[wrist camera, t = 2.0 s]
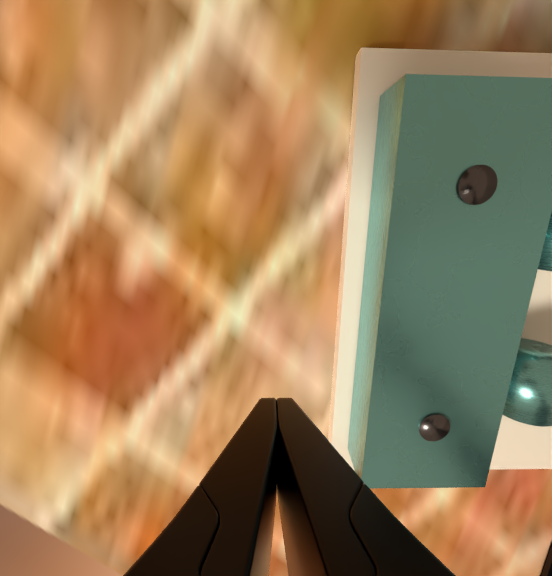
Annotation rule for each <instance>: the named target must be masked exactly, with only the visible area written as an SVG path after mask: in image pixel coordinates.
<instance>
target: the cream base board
mask: <svg viewBox="0 0 552 576" xmlns="http://www.w3.org/2000/svg"><path fill="white" fill-rule="evenodd" d="M405 74H428V75H464V76H500V77H536V78H552V53H528V52H494V51H461V50H428V49H394V48H361V49H360V50H359V52H358V53H357V55H356V59H355V73H354V87H353V101H352V115H351V128H350V142H349V156H348V170H347V184H346V198H345V212H344V226H343V240H342V254H341V268H340V282H339V296H338V310H337V324H336V337H335V351H334V365H333V379H332V393H331V407H330V421H329V435H328V441H329V442H330V443H331V444H332V445H333V447H334V448H335V449H336V450H337V451H338V452H339V454H340V455H341V456H342V457H343V458H344V459H345V461H346V462H347V463H348V464H349V465H350V466H351V468H352V469H353V470H354V467H353V464H352V461H351V457H350V454H349V451H348V437H349V426H350V415H351V404H352V394H353V383H354V372H355V361H356V350H357V339H358V328H359V318H360V307H361V296H362V285H363V274H364V263H365V252H366V242H367V231H368V220H369V209H370V198H371V187H372V176H373V166H374V155H375V144H376V133H377V122H378V111H379V100H380V95H382V94H383V93H384V92H385V91H386V90H387V89H389V88H390V87H391V86H392V85H393V84H395V83H396V82H397V81H398V80H399V79H400V78H402V77H403V76H404V75H405ZM521 338H525V339H531V340H535V341H540V342H543V343H547V344H550V345H552V271H545V270H539V269H538V270H537V274H536V278H535V283H534V287H533V291H532V295H531V299H530V303H529V307H528V311H527V316H526V320H525V324H524V328H523V332H522V336H521ZM489 469H552V426H548V427H540V426H533V425H528V424H524V423H521V422H518V421H515V420H513V419H510V418H508V417H506V416H504V415H502V419H501V423H500V427H499V431H498V435H497V440H496V444H495V448H494V452H493V456H492V460H491V464H490V468H489ZM354 471H355V470H354Z"/></svg>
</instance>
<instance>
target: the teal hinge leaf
mask: <svg viewBox="0 0 552 576" xmlns="http://www.w3.org/2000/svg"><path fill="white" fill-rule="evenodd" d="M538 269H539V270H545V271H552V78H536V77H500V76H464V75H428V74H405V75H404V76H403V77H402V78H400V79H399V80H398V81H397V82H396V83H395V84H393V85H392V86H391V87H390V88H389V89H387V90H386V91H385V92H384V93H383V94H382V95H380V100H379V111H378V122H377V133H376V144H375V155H374V166H373V176H372V187H371V198H370V209H369V220H368V231H367V242H366V252H365V263H364V274H363V285H362V296H361V307H360V318H359V328H358V339H357V350H356V361H355V372H354V383H353V394H352V404H351V415H350V426H349V437H348V451H349V454H350V457H351V461H352V464H353V467H354V470H355V472H356V473H357V475H358V476H359V477H360V478H361V479H362V480H363V482H364V484H366V485H367V486H368V487H369V488H448V487H485V485H486V481H487V477H488V473H489V468H490V464H491V460H492V456H493V452H494V448H495V444H496V440H497V435H498V431H499V427H500V423H501V419H502V415H504V416H506V417H508V418H510V419H513V420H515V421H518V422H521V423H524V424H528V425H533V426H540V427H548V426H552V345H550V344H547V343H543V342H540V341H535V340H531V339H525V338H521V336H522V332H523V328H524V324H525V320H526V316H527V311H528V307H529V303H530V299H531V295H532V291H533V287H534V283H535V278H536V274H537V270H538Z"/></svg>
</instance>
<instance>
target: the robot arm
mask: <svg viewBox="0 0 552 576" xmlns="http://www.w3.org/2000/svg"><path fill="white" fill-rule="evenodd" d="M276 493H278V502H279V509H280V516H281V524H282V531H283V538H284V545H285V552H286V560H287V567H288V574H289V576H455V575H454V574H453V573H452V572H451V571H450V570H449V569H448V568H447V567H446V566H445V565H444V564H443V563H442V562H441V561H440V560H439V559H438V558H436V557H435V556H434V555H433V554H432V553H431V552H430V551H429V550H428V549H427V548H426V547H425V546H424V545H423V544H422V543H421V542H420V541H419V540H418V539H417V538H416V537H415V536H414V535H413V534H412V533H411V532H410V531H409V530H408V529H407V528H406V527H405V526H404V525H403V524H402V523H401V522H400V521H399V520H398V519H397V518H396V517H395V516H394V515H393V514H392V513H391V512H390V511H389V510H388V509H387V508H386V506H385V505H384V504H383V503H382V502H381V501H380V500H379V499H378V498H377V497H376V495H375V494H374V493H373V492H372V491H371V490H370V488H369V487H368V486H367V485H366V484H364V482H363V480H362V479H361V478H360V477H359V476H358V475H357V473H356V472H355V471H354V470H353V469H352V468H351V466H350V465H349V464H348V463H347V462H346V461H345V459H344V458H343V457H342V456H341V455H340V454H339V452H338V451H337V450H336V449H335V448H334V447H333V445H332V444H331V443H330V442H329V441H328V440H327V438H326V437H325V436H324V435H323V434H322V433H321V431H320V430H319V429H318V428H317V427H316V426H315V424H314V423H313V422H312V421H311V420H310V419H309V417H308V416H307V415H306V414H305V413H304V412H303V410H302V409H301V408H300V407H299V406H298V405H297V403H296V402H295V401H294V400H293V399H292V398H278V399H277V400H276V399H275V398H261V399H260V400H259V401H258V403H257V404H256V405H255V407H254V408H253V410H252V411H251V412H250V414H249V415H248V417H247V418H246V419H245V421H244V422H243V424H242V425H241V426H240V428H239V429H238V430H237V432H236V433H235V435H234V436H233V437H232V439H231V440H230V442H229V443H228V444H227V446H226V447H225V449H224V450H223V451H222V453H221V454H220V456H219V457H218V458H217V460H216V461H215V463H214V464H213V465H212V467H211V468H210V470H209V471H208V472H207V474H206V475H205V477H204V478H203V479H202V481H201V482H200V484H199V486H197V487H196V489H195V490H194V492H193V493H192V495H191V496H190V497H189V499H188V500H187V501H186V503H185V504H184V505H183V507H182V508H181V509H180V511H179V512H178V513H177V514H176V516H175V517H174V518H173V520H172V521H171V522H170V523H169V524H168V526H167V527H166V528H165V529H164V530H163V531H162V533H161V534H160V535H159V536H158V537H157V538H156V539H155V541H154V542H153V543H152V544H151V545H150V546H149V547H148V549H147V550H146V551H145V552H144V553H143V554H142V555H141V556H140V557H139V559H138V560H137V561H136V562H135V563H134V564H133V565H132V566H131V567H130V569H129V570H128V571H127V572H126V573H125V574H124V575H123V576H269V567H270V557H271V547H272V537H273V526H274V516H275V506H276ZM541 576H552V546H551V548H550V551H549V554H548V557H547V560H546V563H545V566H544V569H543V572H542V575H541Z"/></svg>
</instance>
